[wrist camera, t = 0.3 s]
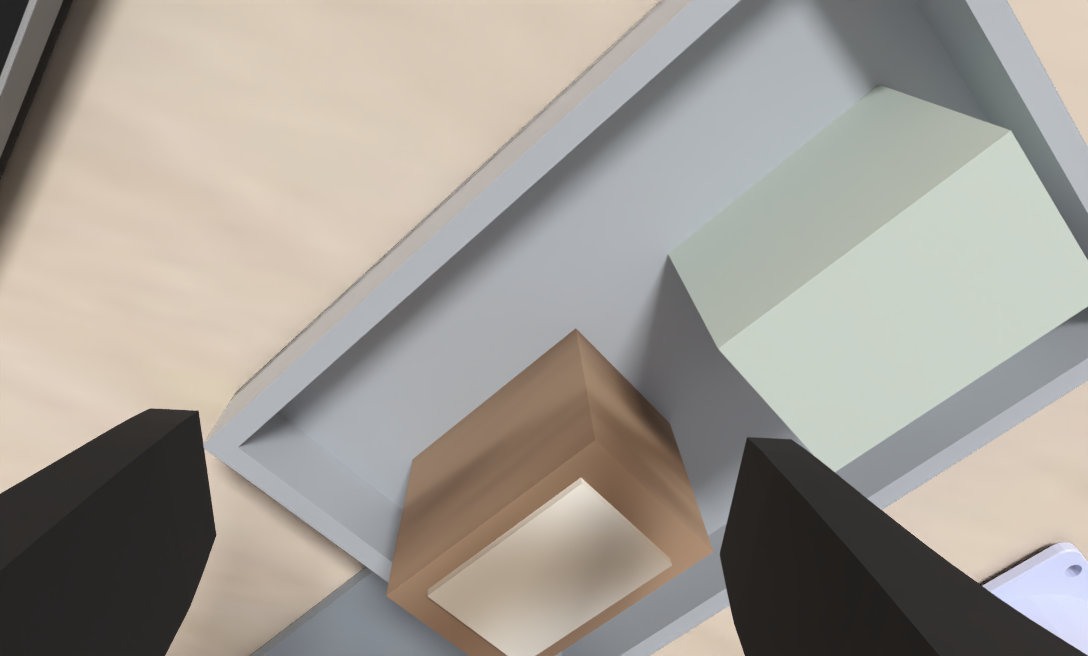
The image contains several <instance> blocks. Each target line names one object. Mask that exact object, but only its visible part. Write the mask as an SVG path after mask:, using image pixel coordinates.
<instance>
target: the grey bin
mask: <svg viewBox="0 0 1088 656" xmlns="http://www.w3.org/2000/svg"><path fill="white" fill-rule="evenodd" d="M878 85H881V86H884V87H887V88H890V89H893V90H896V91H899V92H902V93H904V94H907V95H910V96H913V97H916V98H919V99H922V100H924V101H927V102H930V103H933V104H936V105H939V106H942V107H945V108H947V109H950V110H953V111H956V112H959V113H962V114H965V115H968V116H970V117H973V118H976V119H979V120H982V121H985V122H988V123H991V124H993V125H996V126H999V127H1002V128H1005V129H1008V130H1011V131H1012V133H1013V135H1014V136H1015V138H1016V140H1017V142H1018V143H1019V145H1020V147H1021V148H1022V150H1023V152H1024V153H1025V155H1026V157H1027V158H1028V160H1029V162H1030V164H1031V165H1032V167H1033V169H1034V170H1035V172H1036V174H1037V175H1038V177H1039V179H1040V180H1041V182H1042V184H1043V186H1044V187H1045V189H1046V191H1047V192H1048V194H1049V196H1050V197H1051V199H1052V201H1053V202H1054V204H1055V206H1056V207H1057V209H1058V211H1059V213H1060V214H1061V216H1062V218H1063V219H1064V221H1065V223H1066V224H1067V226H1068V228H1069V229H1070V231H1071V233H1072V235H1073V236H1074V238H1075V240H1076V241H1077V243H1078V245H1079V246H1080V248H1081V250H1082V251H1083V253H1084V255H1085V256H1086V258H1087V260H1088V147H1087V145H1086V143H1085V141H1084V139H1083V137H1082V136H1081V134H1080V132H1079V130H1078V128H1077V127H1076V125H1075V123H1074V121H1073V119H1072V117H1071V116H1070V114H1069V112H1068V110H1067V108H1066V107H1065V105H1064V103H1063V101H1062V99H1061V97H1060V96H1059V94H1058V92H1057V90H1056V88H1055V87H1054V85H1053V83H1052V81H1051V79H1050V77H1049V76H1048V74H1047V72H1046V70H1045V68H1044V67H1043V65H1042V63H1041V61H1040V59H1039V57H1038V56H1037V54H1036V52H1035V50H1034V48H1033V46H1032V45H1031V43H1030V41H1029V39H1028V37H1027V36H1026V34H1025V32H1024V30H1023V28H1022V26H1021V25H1020V23H1019V21H1018V19H1017V17H1016V16H1015V14H1014V12H1013V10H1012V8H1011V6H1010V5H1009V3H1008V1H1007V0H661V1H660V2H659V3H658V4H657V5H656V6H655V7H654V8H652V9H651V10H650V11H649V12H648V13H647V14H646V15H645V16H644V17H643V18H642V19H641V20H639V21H638V22H637V23H636V24H635V25H634V26H633V27H632V28H631V29H630V30H629V31H627V32H626V33H625V34H624V35H623V36H622V37H621V38H620V39H619V40H618V41H617V42H616V43H614V44H613V45H612V46H611V47H610V48H609V49H608V50H607V51H606V52H605V53H604V54H603V55H601V56H600V57H599V58H598V59H597V60H596V61H595V62H594V63H593V64H592V65H591V66H589V67H588V68H587V69H586V70H585V71H584V72H583V73H582V74H581V75H580V76H579V77H578V78H576V79H575V80H574V81H573V82H572V83H571V84H570V85H569V86H568V87H567V88H566V89H565V90H563V91H562V92H561V93H560V94H559V95H558V96H557V97H556V98H555V99H554V100H553V101H552V102H550V103H549V104H548V105H547V106H546V107H545V108H544V109H543V110H542V111H541V112H540V113H538V114H537V115H536V116H535V117H534V118H533V119H532V120H531V121H530V122H529V123H528V124H527V125H525V126H524V127H523V128H522V129H521V130H520V131H519V132H518V133H517V134H516V135H515V136H514V137H512V138H511V139H510V140H509V141H508V142H507V143H506V144H505V145H504V146H503V147H502V148H500V149H499V150H498V151H497V152H496V153H495V154H494V155H493V156H492V157H491V158H490V159H489V160H487V161H486V162H485V163H484V164H483V165H482V166H481V167H480V168H479V169H478V170H477V171H476V172H474V173H473V174H472V175H471V176H470V177H469V178H468V179H467V180H466V181H465V182H464V183H462V184H461V185H460V186H459V187H458V188H457V189H456V190H455V191H454V192H453V193H452V194H451V195H449V196H448V197H447V198H446V199H445V200H444V201H443V202H442V203H441V204H440V205H439V206H438V207H436V208H435V209H434V210H433V211H432V212H431V213H430V214H429V215H428V216H427V217H426V218H425V219H423V220H422V221H421V222H420V223H419V224H418V225H417V226H416V227H415V228H414V229H413V230H411V231H410V232H409V233H408V234H407V235H406V236H405V237H404V238H403V239H402V240H401V241H400V242H398V243H397V244H396V245H395V246H394V247H393V248H392V249H391V250H390V251H389V252H388V253H387V254H385V255H384V256H383V257H382V258H381V259H380V260H379V261H378V262H377V263H376V264H375V265H373V266H372V267H371V268H370V269H369V270H368V271H367V272H366V273H365V274H364V275H363V276H362V277H360V278H359V279H358V280H357V281H356V282H355V283H354V284H353V285H352V286H351V287H350V288H349V289H347V290H346V291H345V292H344V293H343V294H342V295H341V296H340V297H339V298H338V299H337V300H335V301H334V302H333V303H332V304H331V305H330V306H329V307H328V308H327V309H326V310H325V311H324V312H322V313H321V314H320V315H319V316H318V317H317V318H316V319H315V320H314V321H313V322H312V323H311V324H309V325H308V326H307V327H306V328H305V329H304V330H303V331H302V332H301V333H300V334H299V335H298V336H296V337H295V338H294V339H293V340H292V341H291V342H290V343H289V344H288V345H287V346H286V347H284V348H283V349H282V350H281V351H280V352H279V353H278V354H277V355H276V356H275V357H274V358H273V359H271V360H270V361H269V362H268V363H267V364H266V365H265V366H264V367H263V368H262V369H261V370H260V371H258V372H257V373H256V374H255V375H254V376H253V377H252V378H251V379H250V380H249V381H248V382H246V383H245V384H244V385H243V386H242V387H241V388H240V389H239V390H238V391H237V392H236V393H235V394H234V396H233V398H232V399H231V401H230V402H229V404H228V406H227V407H226V409H225V410H224V412H223V413H222V415H221V417H220V418H219V420H218V421H217V423H216V424H215V426H214V428H213V429H212V431H211V432H210V434H209V436H208V437H207V439H206V440H205V442H204V443H203V446H204V449H206V450H207V451H208V452H210V453H211V454H213V455H214V456H215V457H217V458H218V459H219V460H221V461H222V462H224V463H225V464H226V465H228V466H229V467H230V468H232V469H233V470H235V471H236V472H237V473H239V474H240V475H241V476H243V477H244V478H245V479H247V480H248V481H250V482H251V483H252V484H254V485H255V486H256V487H258V488H259V489H261V490H262V491H263V492H265V493H266V494H267V495H269V496H270V497H272V498H273V499H274V500H276V501H277V502H278V503H280V504H281V505H283V506H284V507H285V508H287V509H288V510H289V511H291V512H292V513H293V514H295V515H296V516H298V517H299V518H300V519H302V520H303V521H304V522H306V523H307V524H309V525H310V526H311V527H313V528H314V529H315V530H317V531H318V532H320V533H321V534H322V535H324V536H325V537H326V538H328V539H329V540H330V541H332V542H333V543H335V544H336V545H337V546H339V547H340V548H341V549H343V550H344V551H346V552H347V553H348V554H350V555H351V556H352V557H354V558H355V559H357V560H358V561H359V562H361V563H362V564H363V565H365V566H366V567H368V568H369V569H370V570H372V571H373V572H374V573H376V574H377V575H378V576H380V577H381V578H383V579H384V580H385V581H387V582H388V583H389V578H390V573H391V567H392V562H393V557H394V552H395V547H396V542H397V537H398V532H399V527H400V522H401V516H402V511H403V506H404V501H405V496H406V491H407V486H408V481H409V476H410V471H411V465H412V460H413V459H414V458H415V457H416V456H417V455H419V454H420V453H421V452H422V451H424V450H425V449H426V448H427V447H429V446H430V445H431V444H432V443H434V442H435V441H436V440H437V439H438V438H440V437H441V436H442V435H443V434H445V433H446V432H447V431H448V430H450V429H451V428H452V427H453V426H455V425H456V424H457V423H458V422H460V421H461V420H462V419H463V418H465V417H466V416H467V415H468V414H470V413H471V412H472V411H473V410H475V409H476V408H477V407H478V406H480V405H481V404H482V403H483V402H485V401H486V400H487V399H488V398H489V397H491V396H492V395H493V394H494V393H496V392H497V391H498V390H499V389H501V388H502V387H503V386H504V385H506V384H507V383H508V382H509V381H511V380H512V379H513V378H514V377H516V376H517V375H518V374H519V373H521V372H522V371H523V370H524V369H526V368H527V367H528V366H529V365H531V364H532V363H533V362H534V361H536V360H537V359H538V358H539V357H540V356H542V355H543V354H544V353H545V352H547V351H548V350H549V349H550V348H552V347H553V346H554V345H555V344H557V343H558V342H559V341H560V340H562V339H563V338H564V337H565V336H567V335H568V334H569V333H570V332H572V331H573V330H574V329H575V328H576V329H577V330H578V331H579V332H580V333H581V334H582V335H583V336H584V337H585V338H586V339H587V340H588V341H589V342H590V343H591V344H592V345H593V346H594V347H595V348H596V349H597V350H598V351H599V352H600V353H601V354H602V355H603V356H604V357H605V358H606V359H607V360H608V361H609V362H610V363H611V364H612V365H613V366H614V367H615V368H616V369H617V370H618V371H619V372H620V373H621V374H622V375H623V376H624V377H625V378H626V379H627V380H628V381H629V382H630V383H631V384H632V385H633V386H634V387H635V389H636V390H637V391H638V392H639V393H640V394H641V395H642V396H643V397H644V398H645V399H646V400H647V401H648V402H649V403H650V404H651V405H652V406H653V407H654V408H655V409H656V410H657V411H658V412H659V413H660V414H661V415H662V416H663V417H664V418H665V419H666V420H667V421H668V422H669V423H670V425H671V428H672V431H673V434H674V437H675V440H676V443H677V446H678V449H679V452H680V454H681V457H682V460H683V463H684V466H685V469H686V472H687V475H688V478H689V481H690V484H691V487H692V490H693V493H694V496H695V499H696V502H697V504H698V507H699V510H700V513H701V516H702V519H703V522H704V525H705V528H706V531H707V534H708V537H709V540H710V543H711V546H712V549H713V553H711V554H710V555H708V556H707V557H705V558H703V559H702V560H700V561H699V562H697V563H696V564H694V565H693V566H691V567H690V568H688V569H687V570H685V571H684V572H682V573H681V574H679V575H678V576H676V577H675V578H673V579H671V580H670V581H668V582H667V583H665V584H664V585H662V586H661V587H659V588H658V589H656V590H655V591H653V592H652V593H650V594H649V595H647V596H646V597H644V598H642V599H641V600H639V601H638V602H636V603H635V604H633V605H632V606H630V607H629V608H627V609H626V610H624V611H623V612H621V613H620V614H618V615H617V616H615V617H614V618H612V619H610V620H609V621H607V622H606V623H604V624H603V625H601V626H600V627H598V628H597V629H595V630H594V631H592V632H591V633H589V634H588V635H586V636H585V637H583V638H582V639H580V640H578V641H577V642H575V643H574V644H572V645H571V646H569V647H568V648H566V649H565V650H563V651H562V652H560V653H559V654H557V655H556V656H650V655H651V654H653V653H655V652H656V651H658V650H659V649H661V648H663V647H664V646H666V645H667V644H669V643H670V642H672V641H674V640H675V639H677V638H678V637H680V636H682V635H683V634H685V633H686V632H688V631H690V630H691V629H693V628H694V627H696V626H698V625H699V624H701V623H702V622H704V621H706V620H707V619H709V618H710V617H712V616H714V615H715V614H717V613H718V612H720V611H721V610H723V609H725V608H726V607H728V606H729V605H730V603H729V599H728V594H727V589H726V584H725V579H724V574H723V569H722V564H721V559H720V550H721V545H722V541H723V537H724V533H725V528H726V524H727V520H728V516H729V511H730V507H731V503H732V499H733V494H734V490H735V486H736V482H737V477H738V473H739V469H740V464H741V460H742V456H743V452H744V447H745V443H746V439H747V437H757V438H778V439H792V440H793V441H795V442H796V443H798V444H799V445H800V446H802V447H803V448H804V449H806V450H807V451H808V452H810V451H809V449H808V448H807V447H806V446H805V445H804V444H803V443H802V442H801V441H800V439H799V438H798V437H797V436H796V435H795V434H794V433H793V432H792V430H791V429H790V428H789V427H788V426H787V425H786V424H785V423H784V422H783V420H782V419H781V418H780V417H779V416H778V415H777V414H776V413H775V412H774V410H773V409H772V408H771V407H770V406H769V405H768V404H767V403H766V402H765V400H764V399H763V398H762V397H761V396H760V395H759V394H758V393H757V392H756V390H755V389H754V388H753V387H752V386H751V385H750V384H749V383H748V382H747V380H746V379H745V378H744V377H743V376H742V375H741V374H740V373H739V371H738V370H737V369H736V368H735V367H734V366H733V365H732V364H731V363H730V361H729V360H728V359H727V358H726V357H725V356H724V355H723V354H722V353H721V351H720V350H719V349H718V348H717V346H716V344H715V342H714V340H713V338H712V336H711V334H710V333H709V331H708V329H707V327H706V325H705V323H704V321H703V319H702V317H701V315H700V314H699V312H698V310H697V308H696V306H695V304H694V302H693V300H692V298H691V297H690V295H689V293H688V291H687V289H686V287H685V285H684V283H683V281H682V279H681V278H680V276H679V274H678V272H677V270H676V268H675V266H674V264H673V262H672V261H671V259H670V257H669V255H668V254H669V253H670V252H671V251H672V250H674V249H675V248H676V247H677V246H679V245H680V244H681V243H682V242H684V241H685V240H686V239H687V238H688V237H690V236H691V235H692V234H693V233H695V232H696V231H697V230H698V229H700V228H701V227H702V226H703V225H705V224H706V223H707V222H708V221H710V220H711V219H712V218H713V217H715V216H716V215H717V214H718V213H720V212H721V211H722V210H723V209H725V208H726V207H727V206H728V205H730V204H731V203H732V202H733V201H735V200H736V199H737V198H738V197H739V196H741V195H742V194H743V193H744V192H746V191H747V190H748V189H749V188H751V187H752V186H753V185H754V184H756V183H757V182H758V181H759V180H761V179H762V178H763V177H764V176H766V175H767V174H768V173H769V172H771V171H772V170H773V169H774V168H776V167H777V166H778V165H779V164H781V163H782V162H783V161H784V160H786V159H787V158H788V157H789V156H790V155H792V154H793V153H794V152H795V151H797V150H798V149H799V148H800V147H802V146H803V145H804V144H805V143H807V142H808V141H809V140H810V139H812V138H813V137H814V136H815V135H817V134H818V133H819V132H820V131H822V130H823V129H824V128H825V127H827V126H828V125H829V124H830V123H832V122H833V121H834V120H835V119H837V118H838V117H839V116H840V115H841V114H843V113H844V112H845V111H846V110H848V109H849V108H850V107H851V106H853V105H854V104H855V103H856V102H858V101H859V100H860V99H861V98H863V97H864V96H865V95H866V94H868V93H869V92H870V91H871V90H873V89H874V88H875V87H876V86H878ZM1086 381H1088V307H1086V308H1085V309H1083V310H1082V311H1080V312H1079V313H1077V314H1075V315H1074V316H1072V317H1071V318H1069V319H1068V320H1066V321H1065V322H1063V323H1062V324H1060V325H1059V326H1057V327H1056V328H1054V329H1053V330H1051V331H1050V332H1048V333H1047V334H1045V335H1043V336H1042V337H1040V338H1039V339H1037V340H1036V341H1034V342H1033V343H1031V344H1030V345H1028V346H1027V347H1025V348H1024V349H1022V350H1021V351H1019V352H1018V353H1016V354H1014V355H1013V356H1011V357H1010V358H1008V359H1007V360H1005V361H1004V362H1002V363H1001V364H999V365H998V366H996V367H995V368H993V369H992V370H990V371H989V372H987V373H986V374H984V375H982V376H981V377H979V378H978V379H976V380H975V381H973V382H972V383H970V384H969V385H967V386H966V387H964V388H963V389H961V390H960V391H958V392H957V393H955V394H954V395H952V396H950V397H949V398H947V399H946V400H944V401H943V402H941V403H940V404H938V405H937V406H935V407H934V408H932V409H931V410H929V411H928V412H926V413H925V414H923V415H921V416H920V417H918V418H917V419H915V420H914V421H912V422H911V423H909V424H908V425H906V426H905V427H903V428H902V429H900V430H899V431H897V432H896V433H894V434H893V435H891V436H889V437H888V438H886V439H885V440H883V441H882V442H880V443H879V444H877V445H876V446H874V447H873V448H871V449H870V450H868V451H867V452H865V453H864V454H862V455H861V456H859V457H857V458H856V459H854V460H853V461H851V462H850V463H848V464H847V465H845V466H844V467H842V468H841V469H839V470H838V471H836V472H835V473H836V474H838V475H839V476H840V477H841V478H842V479H844V480H845V481H846V482H847V483H849V484H850V485H851V486H852V487H854V488H855V489H856V490H857V491H858V492H860V493H861V494H862V495H863V496H865V497H866V498H867V499H868V500H870V501H871V502H872V503H873V504H875V505H876V506H877V507H878V508H880V509H881V510H882V509H884V508H886V507H887V506H889V505H890V504H892V503H894V502H895V501H897V500H898V499H900V498H901V497H903V496H905V495H906V494H908V493H909V492H911V491H913V490H914V489H916V488H917V487H919V486H921V485H922V484H924V483H925V482H927V481H929V480H930V479H932V478H933V477H935V476H937V475H938V474H940V473H941V472H943V471H944V470H946V469H948V468H949V467H951V466H952V465H954V464H956V463H957V462H959V461H960V460H962V459H964V458H965V457H967V456H968V455H970V454H972V453H973V452H975V451H976V450H978V449H980V448H981V447H983V446H984V445H986V444H987V443H989V442H991V441H992V440H994V439H995V438H997V437H999V436H1000V435H1002V434H1003V433H1005V432H1007V431H1008V430H1010V429H1011V428H1013V427H1015V426H1016V425H1018V424H1019V423H1021V422H1023V421H1024V420H1026V419H1027V418H1029V417H1030V416H1032V415H1034V414H1035V413H1037V412H1038V411H1040V410H1042V409H1043V408H1045V407H1046V406H1048V405H1050V404H1051V403H1053V402H1054V401H1056V400H1058V399H1059V398H1061V397H1062V396H1064V395H1066V394H1067V393H1069V392H1070V391H1072V390H1074V389H1075V388H1077V387H1078V386H1080V385H1081V384H1083V383H1085V382H1086ZM810 453H811V452H810ZM811 454H812V453H811ZM812 455H813V454H812Z"/></svg>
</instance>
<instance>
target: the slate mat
mask: <svg viewBox="0 0 1088 656" xmlns="http://www.w3.org/2000/svg"><path fill="white" fill-rule="evenodd" d="M387 588H388V582H387V581H385V580H384V579H383V578H381V577H380V576H378V575H377V574H376V573H374V572H373V571H372V570H370V569H369V568H368V567H365V568H364V569H363V570H361V571H360V572H359V573H357V574H356V575H355V576H353V577H352V578H351V579H350V580H348V581H347V582H346V583H344V584H343V585H342V586H340V587H339V588H338V589H337V590H335V591H334V592H333V593H331V594H330V595H329V596H327V597H326V598H325V599H323V600H322V601H321V602H320V603H318V604H317V605H316V606H314V607H313V608H312V609H310V610H309V611H308V612H307V613H305V614H304V615H303V616H301V617H300V618H299V619H297V620H296V621H295V622H294V623H292V624H291V625H290V626H288V627H287V628H286V629H284V630H283V631H282V632H280V633H279V634H278V635H277V636H275V637H274V638H273V639H271V640H270V641H269V642H267V643H266V644H265V645H264V646H262V647H261V648H260V649H258V650H257V651H256V652H254V653H253V654H252V655H251V656H469V655H467V654H466V653H465V652H463V651H462V650H460V649H459V648H458V647H456V646H455V645H453V644H452V643H451V642H449V641H448V640H447V639H445V638H444V637H442V636H441V635H440V634H438V633H437V632H435V631H434V630H433V629H431V628H430V627H428V626H427V625H426V624H424V623H423V622H422V621H420V620H419V619H417V618H416V617H415V616H413V615H412V614H410V613H409V612H408V611H406V610H405V609H403V608H402V607H401V606H399V605H398V604H397V603H395V602H394V601H392V600H391V599H390V598H388V597H387V596H386V593H387Z"/></svg>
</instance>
